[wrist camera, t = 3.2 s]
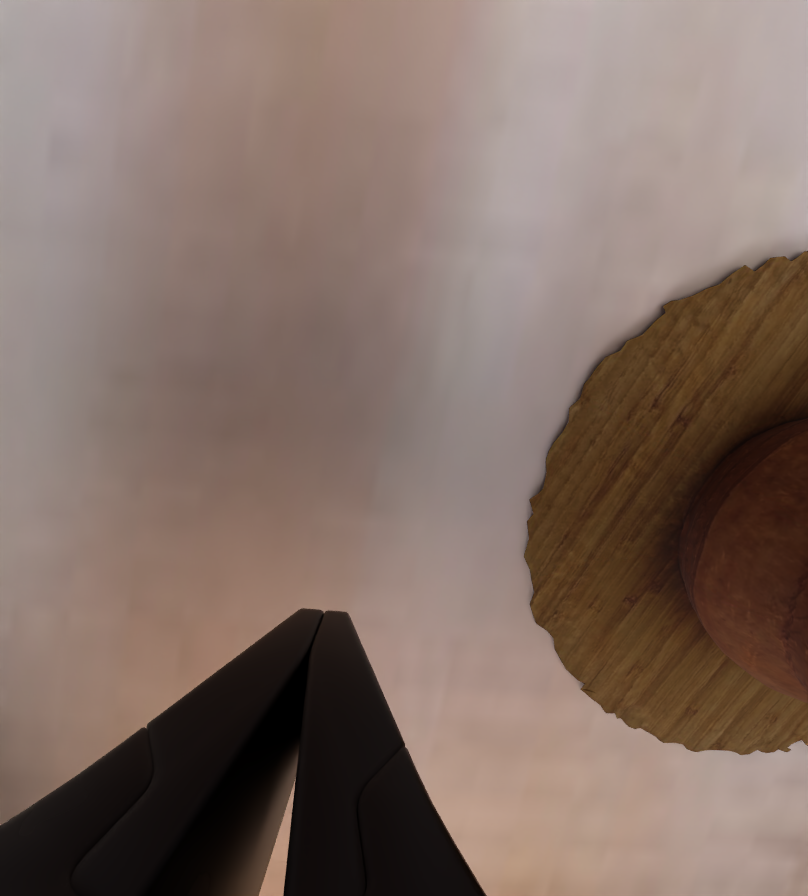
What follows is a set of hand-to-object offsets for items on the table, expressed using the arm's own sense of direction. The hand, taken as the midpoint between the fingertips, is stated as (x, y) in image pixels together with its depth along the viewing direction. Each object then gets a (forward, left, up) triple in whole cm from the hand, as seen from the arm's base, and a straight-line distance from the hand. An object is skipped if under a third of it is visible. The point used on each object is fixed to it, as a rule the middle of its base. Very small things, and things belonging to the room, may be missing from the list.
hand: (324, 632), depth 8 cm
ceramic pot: (-14, -4, -7) cm, 16 cm away
